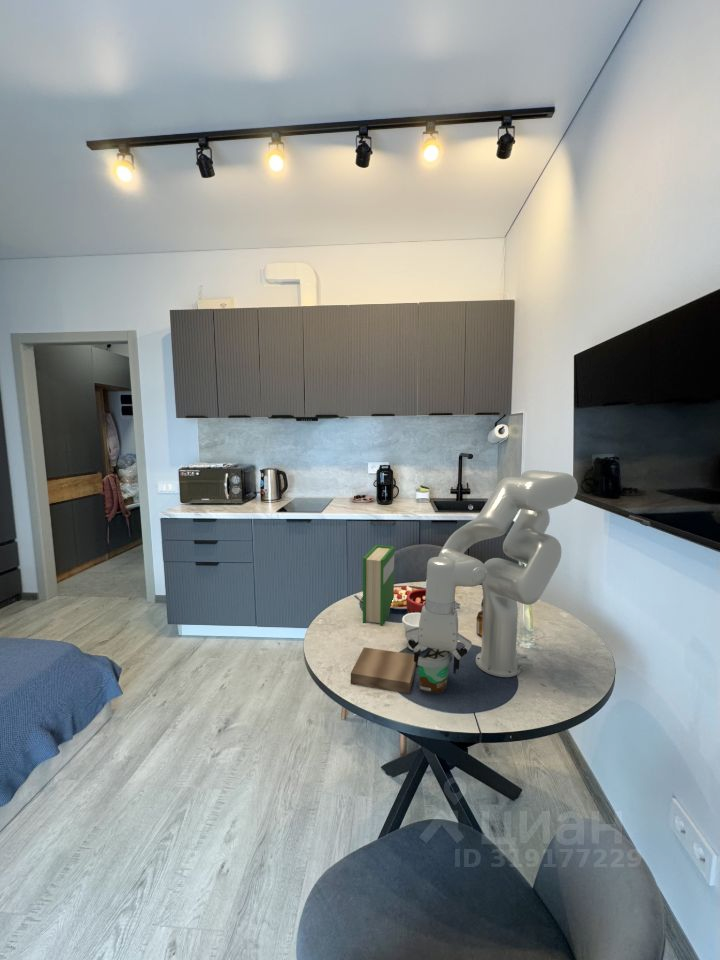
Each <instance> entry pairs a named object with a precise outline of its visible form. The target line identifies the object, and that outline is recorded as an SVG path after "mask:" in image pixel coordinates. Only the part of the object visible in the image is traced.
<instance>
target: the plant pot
mask: <svg viewBox="0 0 720 960" xmlns="http://www.w3.org/2000/svg"><path fill="white" fill-rule="evenodd" d="M424 597H426V588H420V589H414V590H412V591H409V592H408V593H407V596H406V611H407V614H409V613H421V611H422V607H423V606H425V598H424ZM418 598H419V599H420V601H419V602H417V601H416V599H418Z"/></svg>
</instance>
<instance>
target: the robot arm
mask: <svg viewBox="0 0 720 960" xmlns="http://www.w3.org/2000/svg"><path fill="white" fill-rule="evenodd" d="M578 486H579V485H578V482H577V479H576V478H575V477H574V476H573V475H572V474H570V473H567V472H559V471H549V470H547V471H546V470H539V469H537V470H534V469H533V470H527V471H524V472H522V473H521V474H520V476H519V477H518V476H509V477H504V478H503V479H501V480H500V481H499V482H498V483H497V485H496V486H495V488H494V489H493V491H492V493H491V494H490V496H489V497H488V499H487V501H486V502H485V504H484V506H483V507H482V509H481V510H480V512H479V514H477V516H476V517H475V518H474V519H472V520H471V521H468V522H466V524H464V525H462V526H461V527H459V528H458V529H457V530H455V531H454V532H453V533H452V534H451V535H450V536H449V537H448V539H447V540H446V541H445V543H444V545H443V547H442V548H441V549H440V552H439V554H438V556H433V557H430V558H429V559H428V561H427V565H426V581H425V585H426V586H425V589H426V596H424V597H425V598H424V599H425V602H424V604H425V606H423V607H422V611H421V616H420V623H419V627H418V628H415V629H412V630H409V631H406V632H405V631H404V632H405V633H404V637H405V639H406V642H407V641H408V644H409V645H410V646H411V647H412V649H413V653H414V662H416V668H419V665H418V659H419V657H421V652H420V651H421V648H422V647H427V649H428V648H429V649H431V648H432V649H438V650H445V651H451V654H452V655H453V669H452V673H453V674H455V675H456V674H457V670H459V669H460V660H461V658H463V657H464V656H466V654H468V652H469V650H470V649H471V648H472V647H473V642H472V641H471V640H470V639H468V638H466V637H465V636H463V635H462V634H460V633H459V617H458V615H459V614H458V611H457V609H461V603H458V602H457V601H456V588H457V587H465V588H466V587H467V588H474V587H477V586H480V585H481V589H482V596H483V597H482V598H483V599H482V600H483V602H482V622H481V623H482V627H481V628H482V630H481V631H482V633H481V651H480V652H479V653H477V654H476V656H475V664H476V666H477V667H478V668H479V669H480V670H481V671H483V672H485V673H486V674H488V675H491V676H494V677H499V678H511V677H516V676H517V675H519V674H520V673H521V671H522V666H527V667H534V659H533V658H529V657H528V655H527V654H520V653H518V650H517V639H518V638H517V637H518V618H519V607H518V603H521V604H522V605H526V606H527V605H534V604H535V603H537V602H538V600H540V598H541V597H542V596H543V593H544V592H545V590H546V589H547V587H548V585H549V583H550V581H551V579H552V577H553V576H554V574H555V572H556V570H557V568H558V566H559V564H560V561H561V558H562V545H561V543H560V541H559V540H558V539H557V538H556V537H554V536H553V535H550V534H547V533H545V532H546V531H547V528H548V527H549V524H550V522H551V517H550V512H549V510H550V509H553V508H554V509H555V508H556V507H559V506H563V505H565V504H568V503H570V502H571V501H573V499H575V497H576V496H577V493H578V488H579V487H578ZM516 516H517V518H516ZM515 518H516V520H515V521H514V519H515ZM513 521H514V523H513ZM512 523H513V524H512ZM511 525H512V526H511ZM510 526H511V528H510ZM509 528H510V530H509V532H508V529H509ZM507 532H508V533H507ZM506 533H507V535H506V537H505V539H504V541H503V543H502V550H503V551H502V552H503V553H504V554H505V555H506V556H507V557H508V558H510V559H513V560H514V561H517V562H520V563H523V564H526V565H521V564H518V563H517V562H513V561H510V560H508V559H504V558H500V557H492V558H490V559H487V560H486V561H485V562H484V563H483V561H481V560H480V559H478V558H476V557H473V556H470V555H469V554H465V552H466V551H467V550H468V549H469V548H470V547H471V546H473V545H474V544H477V543H479V542H481V541H484V540H490V539H494V538H499V537H501V536H502V537H503V535H505V534H506ZM416 634H418V641H417V642H415V641H414V640H413V639H412V636H413V635H416ZM458 642H460V643H461V644H463V645H464V646H463V647H461V648H459V647H458ZM408 644H407V645H408Z"/></svg>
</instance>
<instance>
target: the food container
mask: <svg viewBox="0 0 720 960" xmlns="http://www.w3.org/2000/svg"><path fill="white" fill-rule="evenodd" d="M452 655H453V653H452V652H451V651H445V650H438V649H432V648H429V650H427V652H426V653H424V655H423V656H422V657H421V656H420V657H419V659H418V665H419V667H418V674H419V675H418V676H419V677H418V678H419V680H418V681H419V692H421V693H425V694H430V695H432V694H433V695H435V694H439V693H442V692H444V691H445V690H446V689H447V685H448V675H449V667H450V663H452V659H453V656H452Z"/></svg>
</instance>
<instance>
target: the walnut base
mask: <svg viewBox="0 0 720 960" xmlns="http://www.w3.org/2000/svg"><path fill="white" fill-rule="evenodd" d="M416 668H417V667H416V662H414V654H413V653H406V652H399V651H393V650H384V649H379V648H373V647H372V648H370V647H363V648H362V649H361V652H360V654H359V656H358V658H357V660H356V662H355V663H354V665H353V667H352V670H351V671H350V684H351V685H357V686H363V687H369V688H374V689H380V690H386V691H391V692H399V693H403V694H409V695H410V694H411V689H412V687H413V686H412V685H413V680H414V678H415V672H416Z"/></svg>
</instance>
